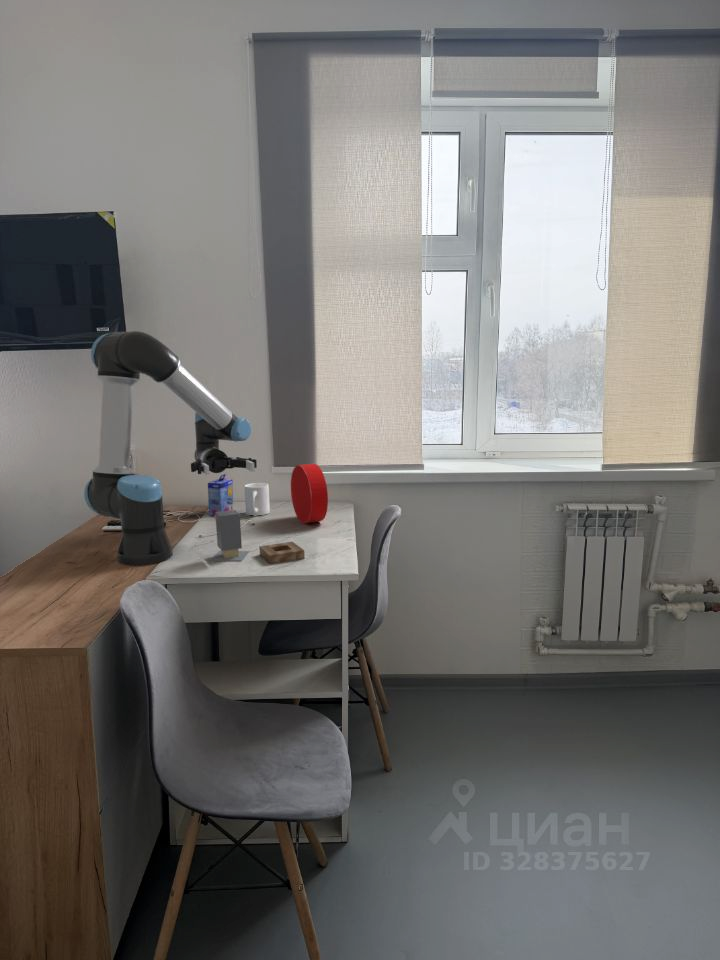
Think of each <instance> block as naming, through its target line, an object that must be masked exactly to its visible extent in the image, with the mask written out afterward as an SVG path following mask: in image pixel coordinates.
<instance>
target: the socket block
mask: <svg viewBox="0 0 720 960" xmlns="http://www.w3.org/2000/svg"><path fill="white" fill-rule="evenodd" d="M259 555H260V556H261V557H262V558H263V560H265V561H266V562H267V563H268V564H269V565H273V564H281V563H287V562H293V561H298V560H304V559H305V558H306V557H305V550H304V549H303V548H302V547H301V546H299V545H298V544H297V543H295V542H293V541H288V542H281V543H273V544H267V545H260V546H259Z"/></svg>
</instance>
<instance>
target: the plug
mask: <svg viewBox="0 0 720 960" xmlns="http://www.w3.org/2000/svg"><path fill="white" fill-rule="evenodd" d="M215 515H216V516H215ZM215 515H214V516H215V528H216V542H217V547H218V548H219V550H220V551H221V555H222V556H223V557H224V558H230V557H237V556H239V552H238V551H239V549H242V547H243V545H242V529H241V528H242V527H241V514H240V512H239V511H237V510H236V509H233V510H229V511H221V512H215Z"/></svg>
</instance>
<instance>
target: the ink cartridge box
mask: <svg viewBox="0 0 720 960" xmlns="http://www.w3.org/2000/svg"><path fill="white" fill-rule="evenodd" d="M226 474H227V473H223V474H221V475H220V476H219V478H218V479H215V480H212V481H209V482H207V498H208V515H209V516H215V512H221V511H229V510H234V485H233V484H234V483H233V479H232V478H225V477H226Z"/></svg>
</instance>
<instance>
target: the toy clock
mask: <svg viewBox="0 0 720 960" xmlns="http://www.w3.org/2000/svg"><path fill="white" fill-rule="evenodd" d="M290 478H291V479H290V495H291V496H290V497H291V502H292V507H293V509H294V513H295V515H296V516H295V517H297V520H299V522H300V523H302V524H310V523H315V522H316V523H317V522H322V521H324V519H325V518H326V516H327V512H328V507H329V495H328V492H329V491H328V487H327V482H326V479H325V475H324V472H323V470H322V469H321V467H320V466H319V465H318V464H316V463H307V464H297V465H295V466H294V467H293V469H292V473H291V477H290Z"/></svg>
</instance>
